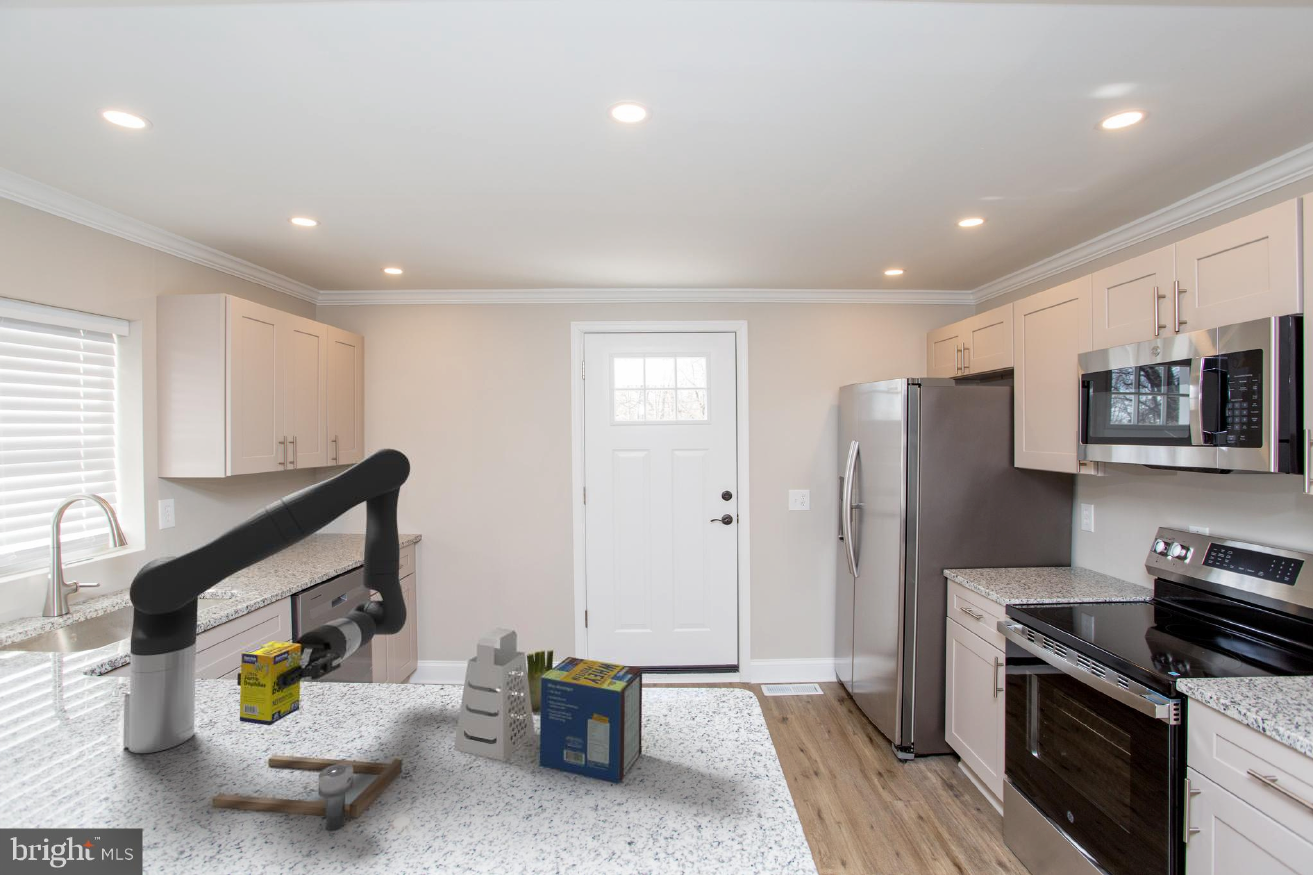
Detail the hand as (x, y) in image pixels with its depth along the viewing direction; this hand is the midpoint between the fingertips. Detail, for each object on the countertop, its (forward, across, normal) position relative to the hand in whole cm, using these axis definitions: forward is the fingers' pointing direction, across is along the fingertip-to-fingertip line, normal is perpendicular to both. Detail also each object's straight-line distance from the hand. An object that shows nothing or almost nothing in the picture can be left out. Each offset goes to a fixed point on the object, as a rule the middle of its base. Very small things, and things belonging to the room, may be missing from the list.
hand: (260, 681), depth 92 cm
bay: (-2, +7, +18) cm, 19 cm away
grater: (-20, +31, +18) cm, 41 cm away
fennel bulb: (-34, +35, +18) cm, 52 cm away
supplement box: (-2, 0, +7) cm, 7 cm away
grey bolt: (+6, +17, +18) cm, 25 cm away
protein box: (-16, +50, +18) cm, 55 cm away
